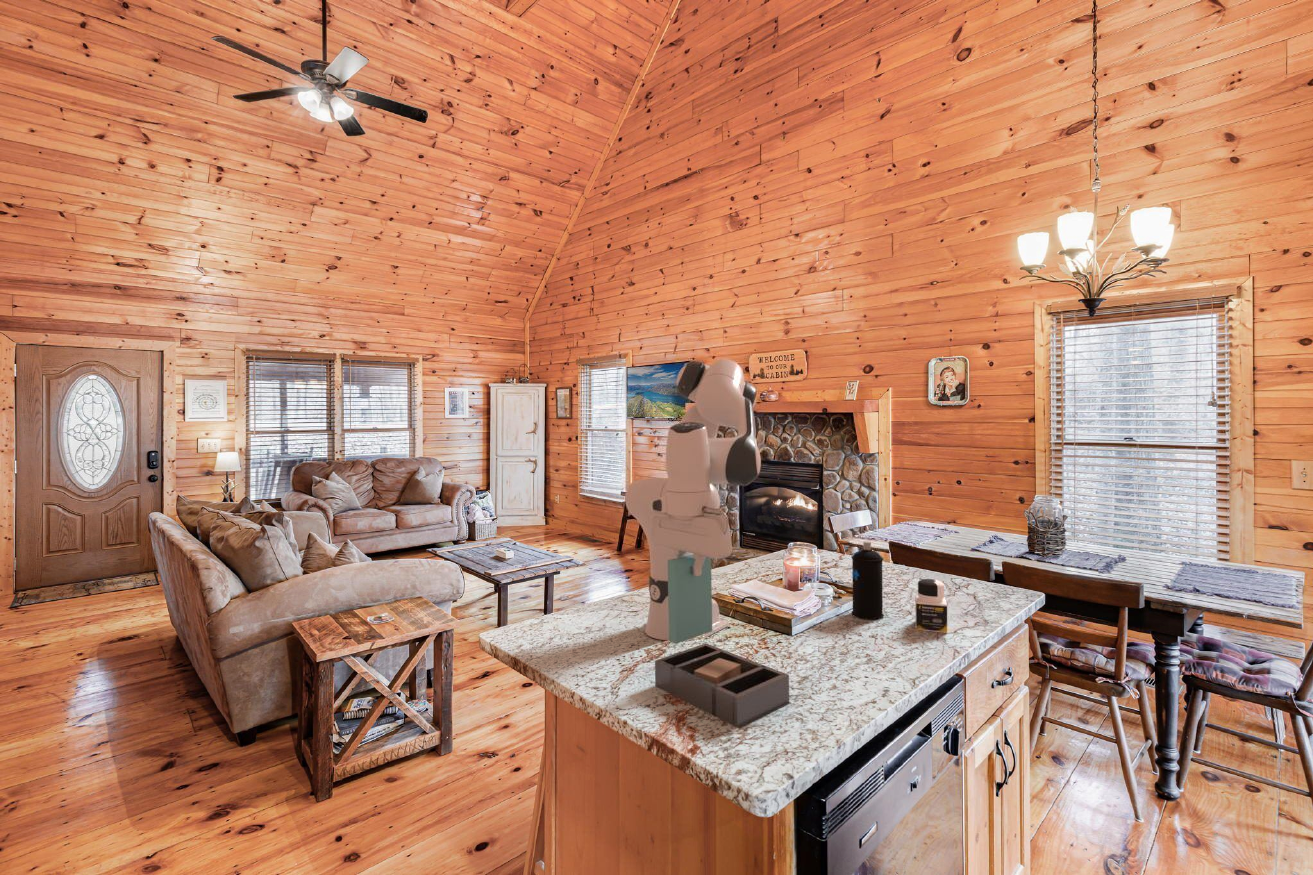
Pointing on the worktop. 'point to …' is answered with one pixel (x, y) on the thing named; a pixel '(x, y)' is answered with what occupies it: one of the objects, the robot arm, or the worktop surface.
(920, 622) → the medicine bottle
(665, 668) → the rack
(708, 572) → the teal panel
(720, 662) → the walnut offcut
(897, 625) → the worktop surface
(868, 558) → the aerosol can
